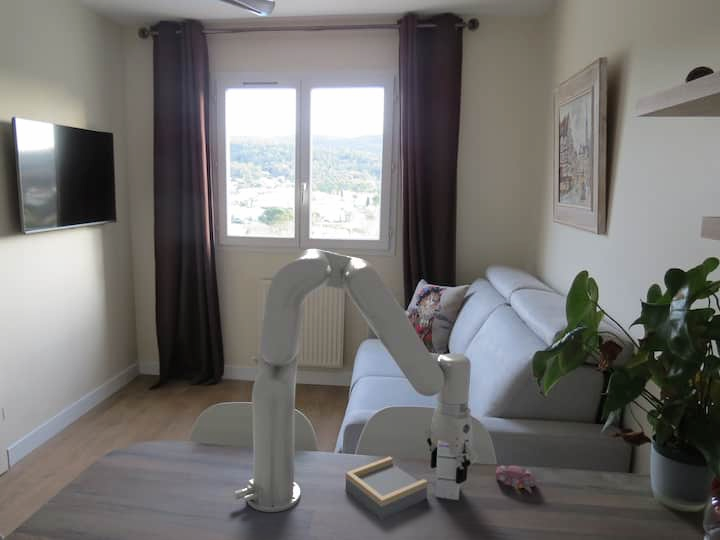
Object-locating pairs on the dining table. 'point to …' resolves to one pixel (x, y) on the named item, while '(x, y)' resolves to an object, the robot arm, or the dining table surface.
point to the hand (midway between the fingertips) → (448, 473)
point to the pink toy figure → (515, 476)
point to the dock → (385, 487)
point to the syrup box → (446, 473)
